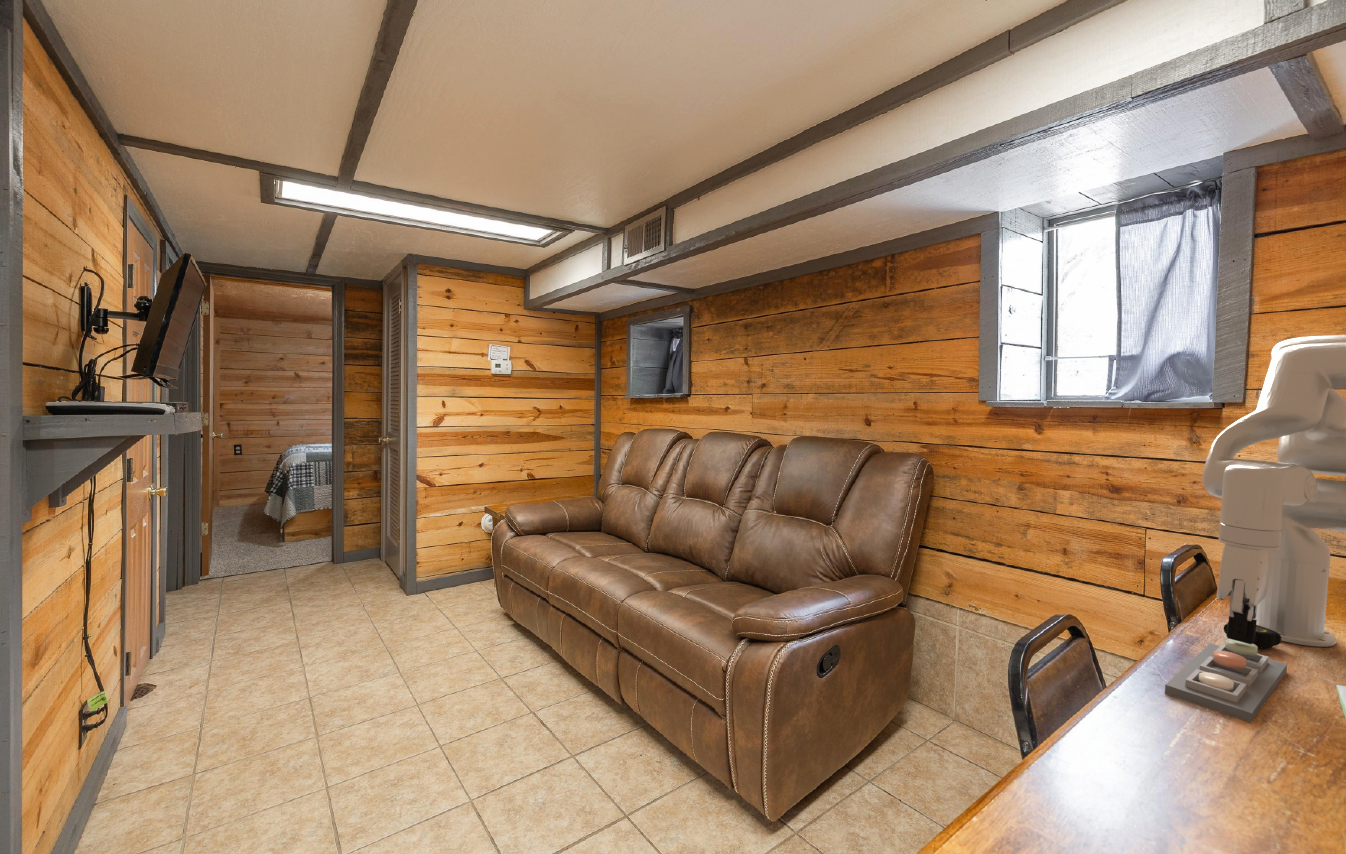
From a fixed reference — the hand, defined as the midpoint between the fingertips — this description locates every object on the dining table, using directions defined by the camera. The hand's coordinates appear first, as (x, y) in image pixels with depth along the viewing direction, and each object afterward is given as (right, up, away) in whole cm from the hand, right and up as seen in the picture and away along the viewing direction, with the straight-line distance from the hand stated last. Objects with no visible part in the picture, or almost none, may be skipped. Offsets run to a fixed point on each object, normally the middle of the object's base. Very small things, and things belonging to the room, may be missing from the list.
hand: (1241, 640), depth 101 cm
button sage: (0, -2, 0) cm, 2 cm away
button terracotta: (-6, -2, -4) cm, 8 cm away
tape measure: (+12, -5, +11) cm, 17 cm away
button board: (-6, -6, -4) cm, 9 cm away
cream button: (-13, -4, -9) cm, 16 cm away
